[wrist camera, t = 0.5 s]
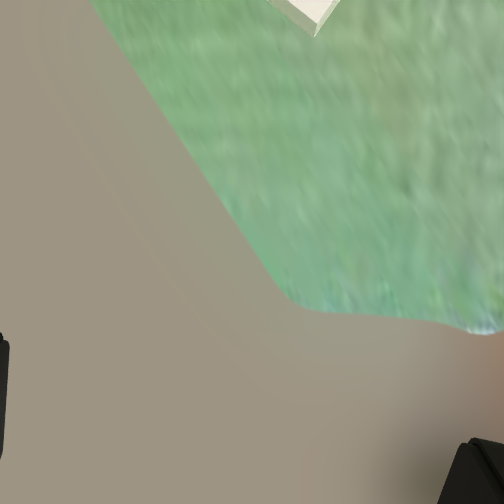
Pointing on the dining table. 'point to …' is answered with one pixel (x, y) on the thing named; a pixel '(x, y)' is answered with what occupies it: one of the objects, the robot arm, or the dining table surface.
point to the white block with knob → (306, 12)
